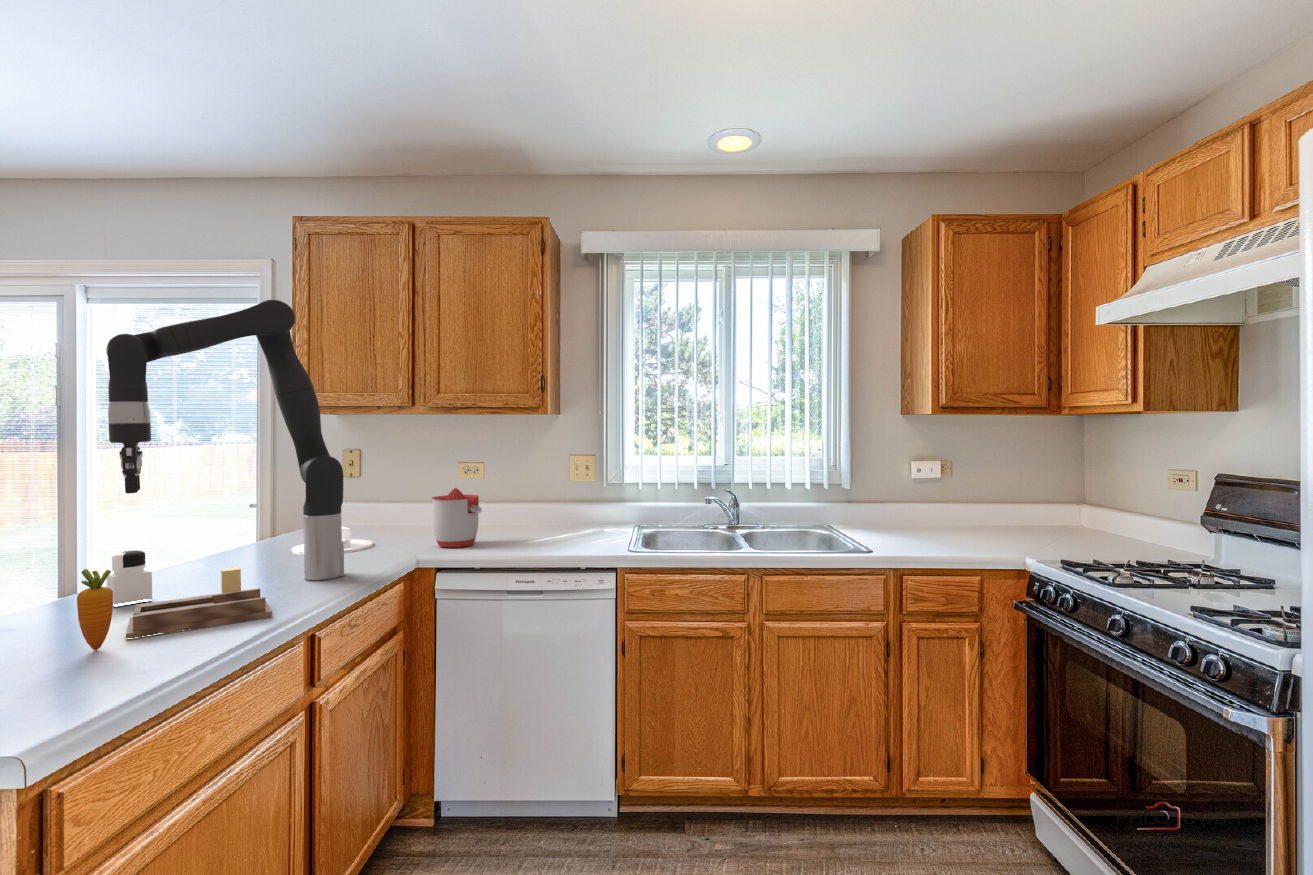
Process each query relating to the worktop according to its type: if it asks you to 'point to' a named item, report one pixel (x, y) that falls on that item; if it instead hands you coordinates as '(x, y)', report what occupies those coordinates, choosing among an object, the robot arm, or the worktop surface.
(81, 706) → the worktop surface
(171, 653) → the worktop surface
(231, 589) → the flanged block
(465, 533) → the citrus juicer
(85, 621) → the carrot
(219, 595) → the track
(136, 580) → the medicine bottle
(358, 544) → the dish
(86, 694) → the worktop surface
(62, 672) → the worktop surface
